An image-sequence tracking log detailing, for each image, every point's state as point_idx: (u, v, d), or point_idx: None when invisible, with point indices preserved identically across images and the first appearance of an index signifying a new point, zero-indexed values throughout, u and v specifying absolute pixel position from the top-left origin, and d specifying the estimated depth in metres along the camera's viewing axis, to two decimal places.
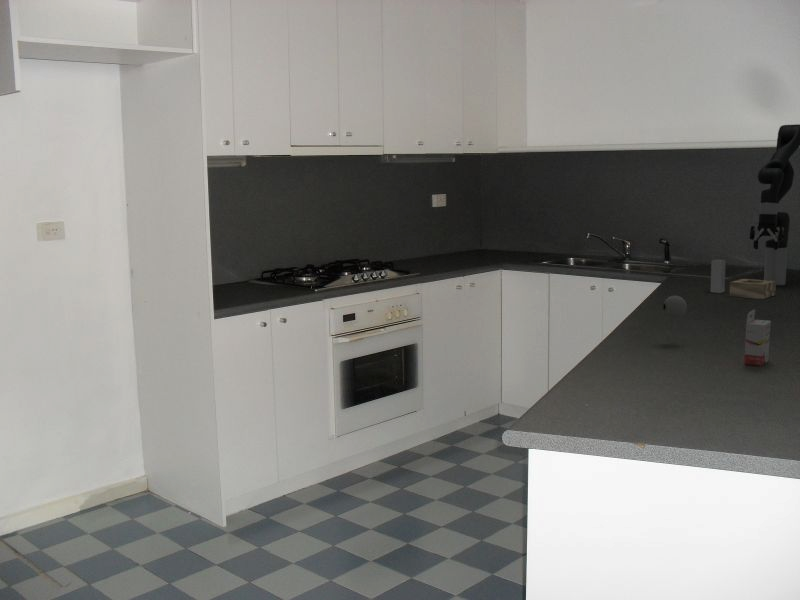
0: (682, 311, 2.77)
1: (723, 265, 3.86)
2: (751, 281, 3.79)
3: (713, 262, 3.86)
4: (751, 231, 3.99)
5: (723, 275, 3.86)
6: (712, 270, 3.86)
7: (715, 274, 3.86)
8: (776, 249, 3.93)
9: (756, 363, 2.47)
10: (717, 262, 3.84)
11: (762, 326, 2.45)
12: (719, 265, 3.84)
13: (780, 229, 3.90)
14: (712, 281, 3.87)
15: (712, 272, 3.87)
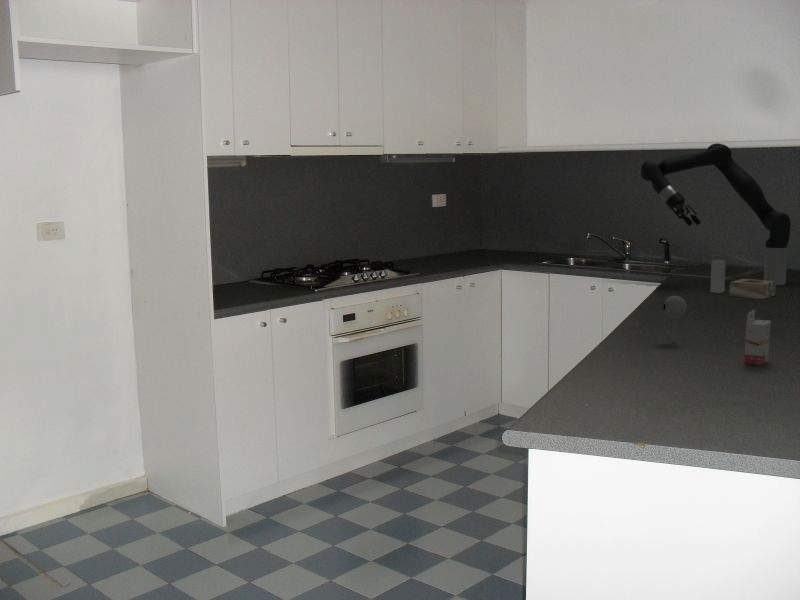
0: (682, 311, 2.77)
1: (723, 265, 3.86)
2: (751, 281, 3.79)
3: (713, 262, 3.86)
4: None
5: (723, 275, 3.86)
6: (712, 270, 3.86)
7: (715, 274, 3.86)
8: (690, 224, 3.88)
9: (756, 363, 2.47)
10: (717, 262, 3.84)
11: (762, 326, 2.45)
12: (719, 265, 3.84)
13: None
14: (712, 281, 3.87)
15: (712, 272, 3.87)
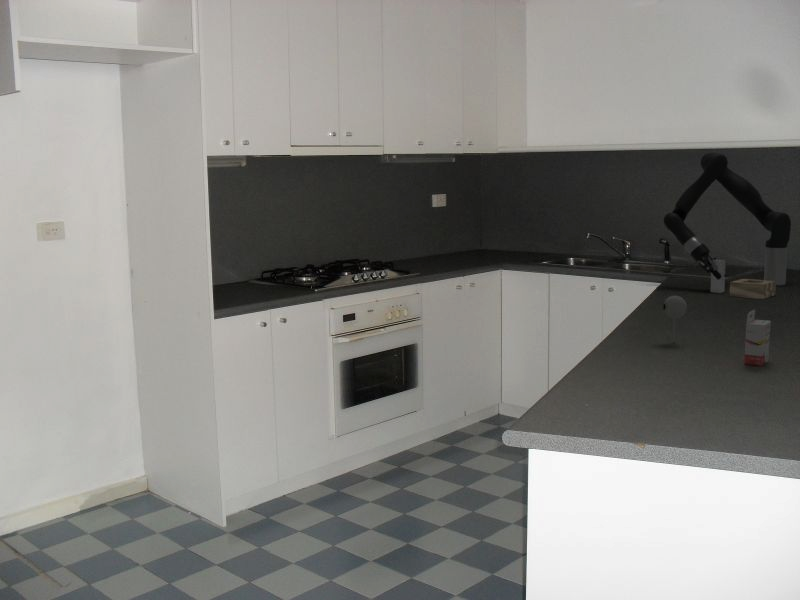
0: (682, 311, 2.77)
1: (723, 265, 3.86)
2: (751, 281, 3.79)
3: (713, 262, 3.86)
4: None
5: (723, 275, 3.86)
6: None
7: None
8: (719, 277, 3.84)
9: (756, 363, 2.47)
10: (717, 262, 3.84)
11: (762, 326, 2.45)
12: (719, 265, 3.84)
13: None
14: (712, 281, 3.87)
15: None
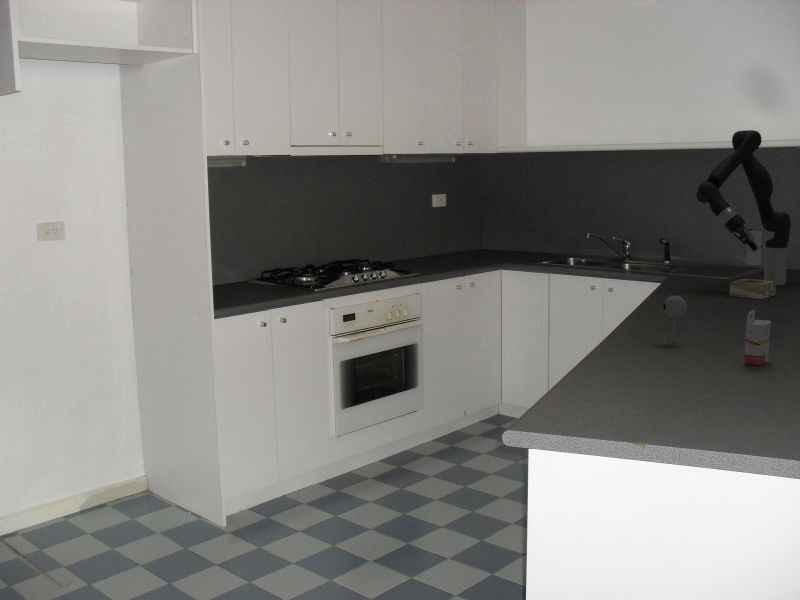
0: (682, 311, 2.77)
1: (760, 236, 3.72)
2: (751, 281, 3.79)
3: (749, 233, 3.72)
4: None
5: (759, 246, 3.72)
6: None
7: None
8: (755, 249, 3.70)
9: (756, 363, 2.47)
10: (753, 233, 3.70)
11: (762, 326, 2.45)
12: (756, 236, 3.70)
13: None
14: (748, 253, 3.73)
15: None
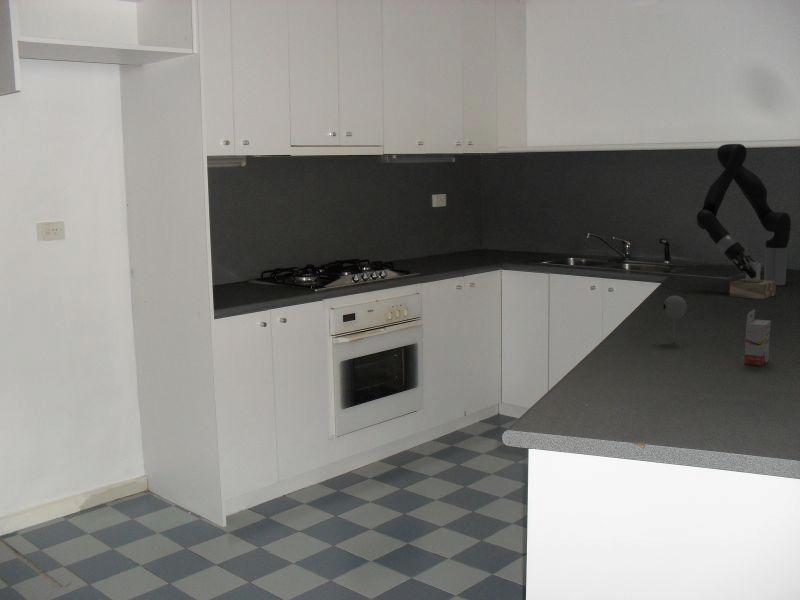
0: (682, 311, 2.77)
1: (759, 267, 3.74)
2: None
3: (748, 265, 3.74)
4: None
5: (758, 278, 3.74)
6: None
7: None
8: (753, 276, 3.71)
9: (756, 363, 2.47)
10: (752, 265, 3.72)
11: (762, 326, 2.45)
12: (755, 268, 3.72)
13: None
14: None
15: (746, 275, 3.75)
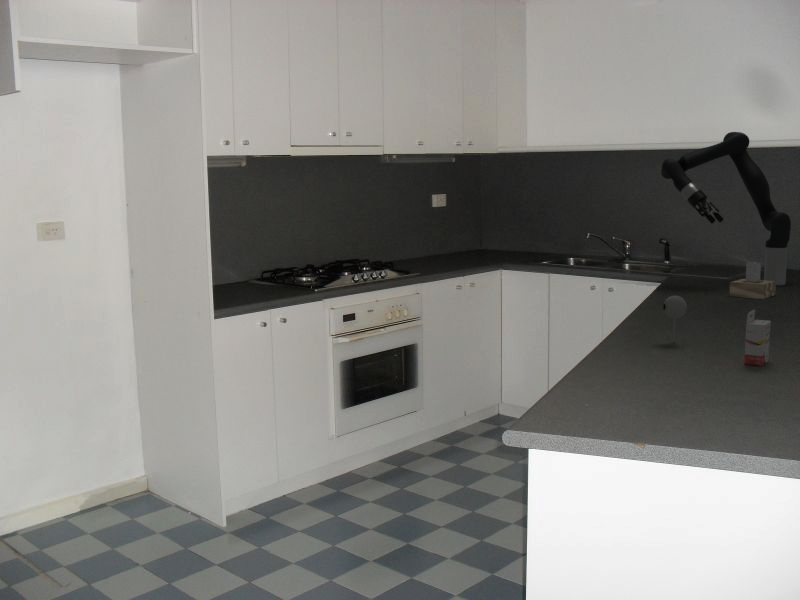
0: (682, 311, 2.77)
1: (759, 267, 3.74)
2: None
3: (748, 265, 3.74)
4: None
5: (758, 278, 3.74)
6: (747, 273, 3.74)
7: (750, 277, 3.74)
8: (713, 221, 3.83)
9: (756, 363, 2.47)
10: (752, 265, 3.72)
11: (762, 326, 2.45)
12: (755, 268, 3.72)
13: None
14: None
15: (746, 275, 3.75)
